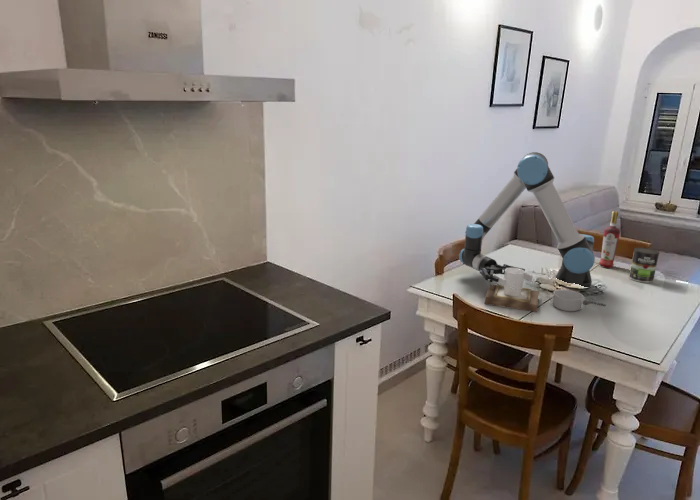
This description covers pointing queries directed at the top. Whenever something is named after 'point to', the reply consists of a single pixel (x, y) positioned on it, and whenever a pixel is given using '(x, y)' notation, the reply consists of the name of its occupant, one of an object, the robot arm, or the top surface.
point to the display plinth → (512, 298)
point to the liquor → (610, 243)
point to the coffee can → (644, 265)
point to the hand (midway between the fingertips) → (518, 280)
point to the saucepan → (570, 300)
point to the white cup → (513, 281)
